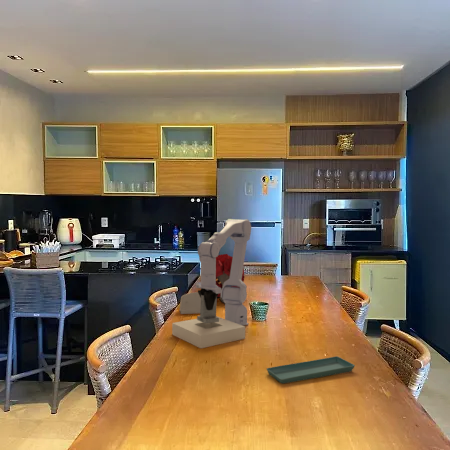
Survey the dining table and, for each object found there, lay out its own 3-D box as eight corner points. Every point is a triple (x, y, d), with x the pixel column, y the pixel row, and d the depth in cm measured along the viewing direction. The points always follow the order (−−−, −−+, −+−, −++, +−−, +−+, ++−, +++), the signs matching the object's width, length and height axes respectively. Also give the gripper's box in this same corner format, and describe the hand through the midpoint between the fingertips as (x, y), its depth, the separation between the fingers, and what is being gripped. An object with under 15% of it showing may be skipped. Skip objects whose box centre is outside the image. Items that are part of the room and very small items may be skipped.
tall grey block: (218, 321, 172) (220, 295, 172) (205, 323, 168) (206, 296, 168) (210, 318, 177) (211, 292, 177) (197, 319, 173) (198, 293, 173)
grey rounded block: (179, 313, 206) (179, 292, 209) (179, 314, 211) (178, 293, 214) (216, 312, 209) (215, 291, 212) (214, 313, 214) (213, 292, 216)
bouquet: (248, 313, 234) (243, 276, 259) (247, 278, 221) (242, 243, 247) (206, 316, 234) (205, 279, 259) (203, 281, 221) (202, 245, 246)
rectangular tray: (280, 386, 128) (281, 378, 128) (265, 375, 136) (265, 366, 136) (355, 373, 138) (355, 365, 138) (337, 363, 146) (337, 355, 146)
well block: (245, 338, 170) (245, 326, 170) (200, 348, 159) (200, 335, 158) (214, 326, 187) (214, 315, 186) (172, 334, 175) (172, 323, 174)
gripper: (189, 272, 175) (189, 306, 176) (210, 277, 164) (210, 314, 164) (204, 270, 179) (204, 304, 180) (226, 275, 168) (225, 311, 168)
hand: (208, 309), depth 172 cm, fingers closed on tall grey block, 2 cm apart
